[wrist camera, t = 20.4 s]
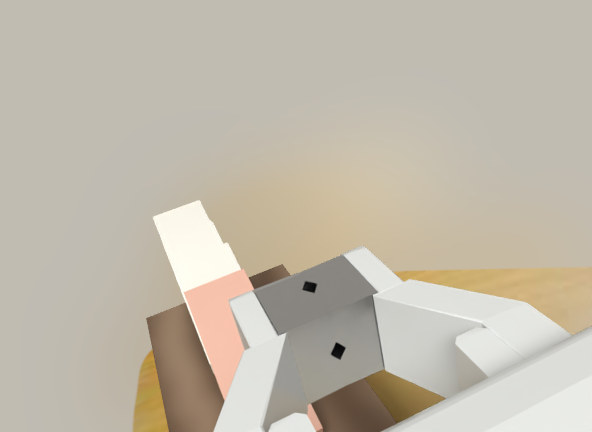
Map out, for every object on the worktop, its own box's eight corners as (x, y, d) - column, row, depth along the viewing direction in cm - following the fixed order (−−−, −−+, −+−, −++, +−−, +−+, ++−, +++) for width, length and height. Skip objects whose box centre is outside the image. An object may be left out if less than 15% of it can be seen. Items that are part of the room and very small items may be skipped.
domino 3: (271, 347, 41) (214, 231, 50) (269, 337, 40) (211, 220, 49) (213, 373, 40) (165, 250, 49) (209, 364, 39) (161, 239, 48)
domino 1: (251, 311, 46) (202, 210, 55) (249, 301, 45) (199, 199, 53) (198, 334, 44) (156, 227, 53) (195, 324, 43) (152, 216, 52)
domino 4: (323, 437, 33) (246, 280, 42) (322, 427, 32) (243, 268, 41) (251, 473, 32) (188, 303, 41) (248, 464, 31) (183, 292, 40)
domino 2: (297, 386, 37) (230, 253, 46) (296, 376, 36) (227, 242, 45) (233, 417, 36) (177, 274, 45) (229, 408, 35) (172, 263, 44)
